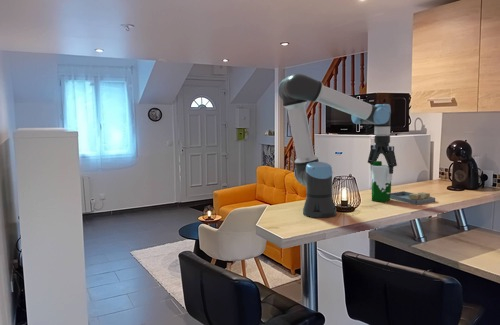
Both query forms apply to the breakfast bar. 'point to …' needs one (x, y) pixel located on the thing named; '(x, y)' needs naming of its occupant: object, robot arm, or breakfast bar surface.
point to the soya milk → (380, 183)
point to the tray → (404, 197)
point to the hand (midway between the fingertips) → (381, 178)
